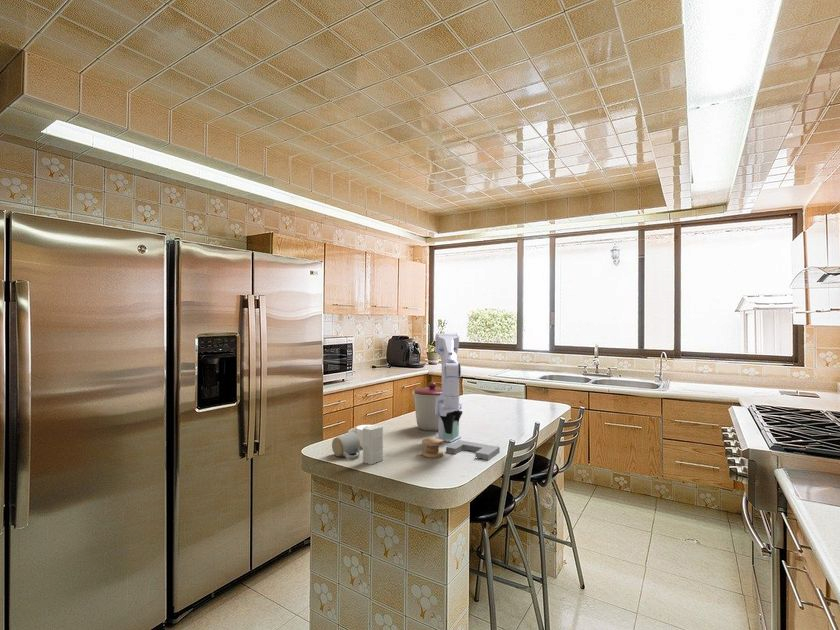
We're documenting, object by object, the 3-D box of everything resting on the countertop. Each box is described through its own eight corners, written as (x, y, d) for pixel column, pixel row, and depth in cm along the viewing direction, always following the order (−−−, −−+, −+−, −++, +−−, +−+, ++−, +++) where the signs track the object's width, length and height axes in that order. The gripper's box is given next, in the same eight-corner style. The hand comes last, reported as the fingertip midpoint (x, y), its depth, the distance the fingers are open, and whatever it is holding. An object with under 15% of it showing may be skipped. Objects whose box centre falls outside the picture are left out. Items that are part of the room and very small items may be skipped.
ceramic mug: (330, 454, 159) (330, 433, 159) (348, 450, 165) (349, 429, 165) (346, 462, 151) (347, 440, 151) (365, 457, 157) (366, 436, 157)
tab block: (447, 435, 164) (447, 419, 164) (457, 436, 162) (457, 420, 162) (443, 437, 160) (443, 421, 160) (452, 439, 158) (452, 422, 158)
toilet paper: (345, 445, 170) (345, 428, 170) (368, 440, 178) (369, 423, 178) (357, 450, 164) (358, 432, 164) (381, 444, 172) (381, 427, 172)
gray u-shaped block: (458, 445, 172) (458, 440, 172) (499, 452, 163) (499, 446, 163) (446, 452, 163) (446, 447, 163) (488, 460, 154) (488, 454, 154)
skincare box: (374, 458, 156) (374, 424, 156) (383, 460, 153) (383, 426, 153) (361, 462, 151) (362, 427, 151) (370, 465, 148) (370, 429, 148)
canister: (405, 425, 203) (406, 380, 203) (440, 422, 210) (440, 378, 210) (422, 435, 186) (422, 386, 186) (458, 431, 194) (459, 383, 194)
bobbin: (428, 449, 166) (428, 436, 166) (447, 453, 161) (447, 440, 161) (417, 455, 159) (417, 441, 159) (436, 459, 155) (436, 445, 155)
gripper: (450, 391, 169) (449, 426, 169) (432, 397, 156) (432, 434, 156) (466, 392, 165) (466, 428, 165) (450, 399, 153) (450, 437, 153)
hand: (451, 431), depth 161 cm, fingers closed on tab block, 4 cm apart
